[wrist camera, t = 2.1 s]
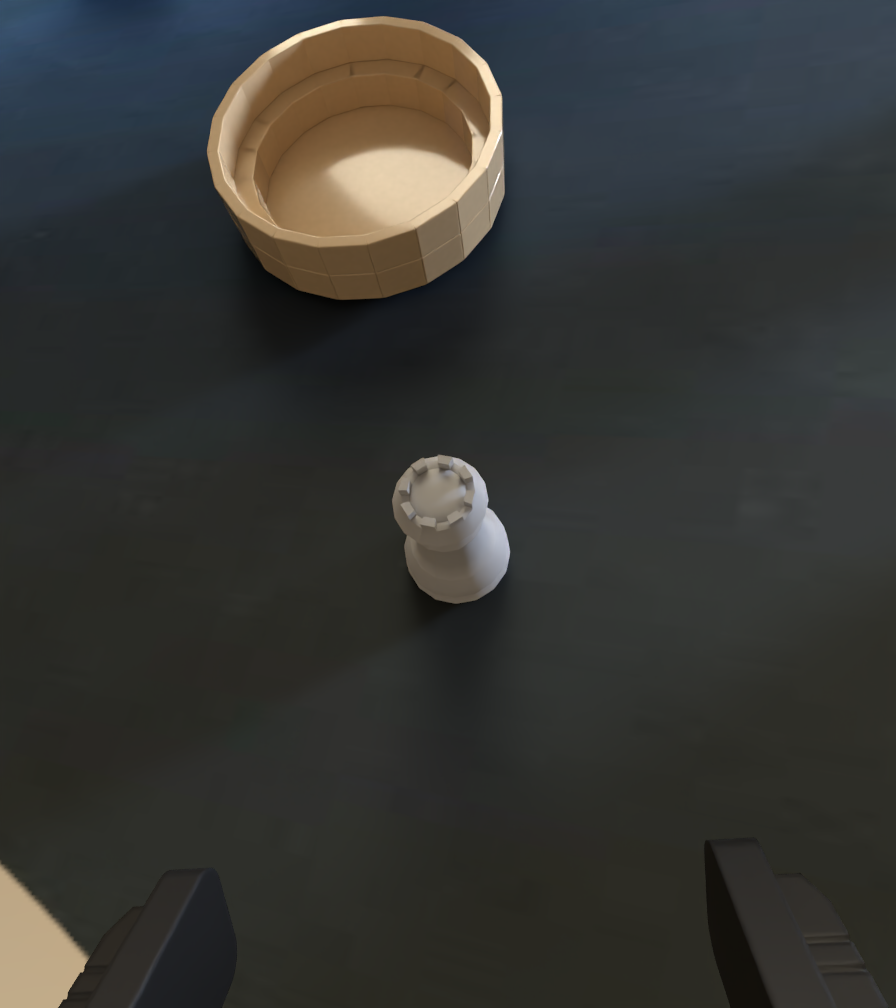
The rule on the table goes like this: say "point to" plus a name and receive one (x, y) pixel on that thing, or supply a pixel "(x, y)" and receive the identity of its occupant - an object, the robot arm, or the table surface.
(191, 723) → the table surface
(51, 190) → the table surface
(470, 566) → the rook chess piece
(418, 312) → the table surface
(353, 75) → the bowl
